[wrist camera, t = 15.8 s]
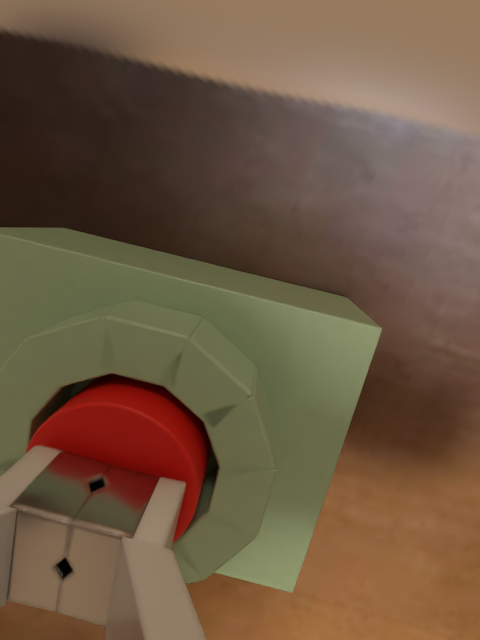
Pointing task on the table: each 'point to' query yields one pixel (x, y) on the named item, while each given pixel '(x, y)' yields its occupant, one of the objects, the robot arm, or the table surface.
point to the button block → (192, 379)
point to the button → (133, 434)
